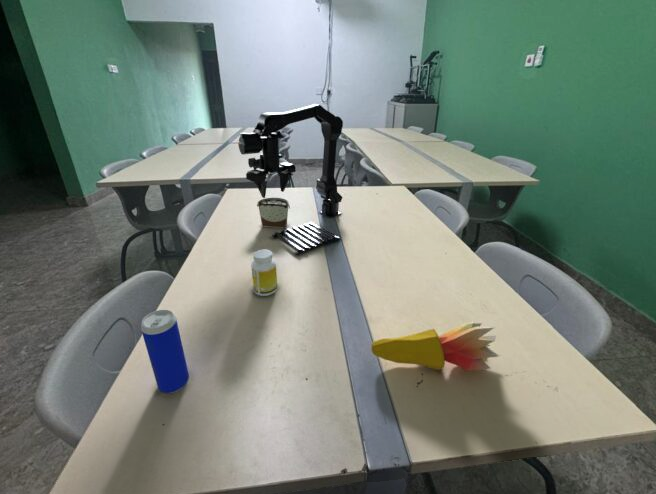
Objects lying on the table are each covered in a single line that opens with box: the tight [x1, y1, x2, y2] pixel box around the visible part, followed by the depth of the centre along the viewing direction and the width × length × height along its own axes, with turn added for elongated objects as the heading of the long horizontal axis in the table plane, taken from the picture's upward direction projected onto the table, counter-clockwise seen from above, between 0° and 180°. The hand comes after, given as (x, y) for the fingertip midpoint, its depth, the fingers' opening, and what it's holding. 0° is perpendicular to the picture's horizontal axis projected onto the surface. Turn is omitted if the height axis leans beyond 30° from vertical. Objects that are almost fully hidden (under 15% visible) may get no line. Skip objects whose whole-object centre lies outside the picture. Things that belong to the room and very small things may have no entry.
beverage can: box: [140, 309, 190, 394], centre depth 55 cm, size 5×5×15 cm
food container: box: [256, 197, 291, 229], centre depth 121 cm, size 12×6×10 cm, turn 84°
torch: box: [370, 321, 501, 372], centre depth 63 cm, size 8×8×25 cm
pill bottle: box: [250, 249, 278, 297], centre depth 82 cm, size 6×6×11 cm
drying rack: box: [271, 221, 341, 256], centre depth 112 cm, size 18×16×2 cm
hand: (273, 194), depth 116 cm, fingers open, 9 cm apart
